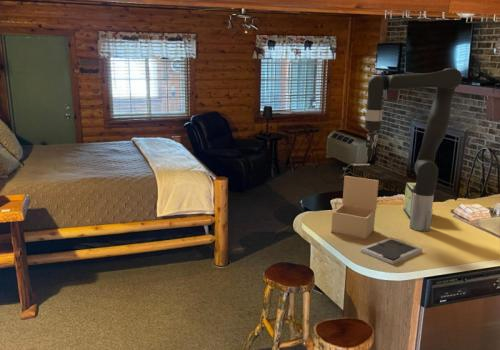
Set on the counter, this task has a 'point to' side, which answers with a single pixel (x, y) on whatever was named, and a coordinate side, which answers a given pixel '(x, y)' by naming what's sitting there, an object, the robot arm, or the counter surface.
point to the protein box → (408, 198)
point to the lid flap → (360, 192)
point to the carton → (353, 221)
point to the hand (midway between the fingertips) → (370, 155)
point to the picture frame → (391, 250)
